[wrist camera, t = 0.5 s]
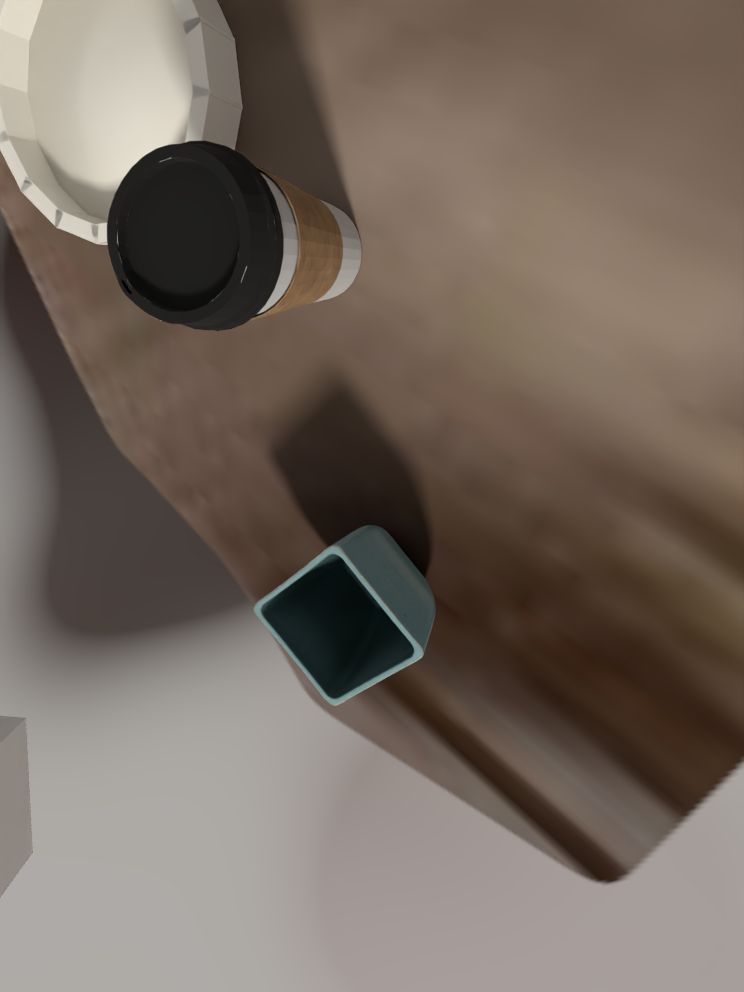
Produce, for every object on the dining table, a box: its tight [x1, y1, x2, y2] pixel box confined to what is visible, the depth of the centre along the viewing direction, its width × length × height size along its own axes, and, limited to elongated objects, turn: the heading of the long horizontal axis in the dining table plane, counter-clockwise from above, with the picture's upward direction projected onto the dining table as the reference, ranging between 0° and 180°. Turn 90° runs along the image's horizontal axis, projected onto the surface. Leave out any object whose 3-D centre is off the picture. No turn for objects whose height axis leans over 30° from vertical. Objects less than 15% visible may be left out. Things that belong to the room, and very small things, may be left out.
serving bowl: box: [0, 0, 243, 245], centre depth 40 cm, size 18×18×4 cm
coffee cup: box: [107, 141, 362, 331], centre depth 33 cm, size 8×8×15 cm
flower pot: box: [253, 525, 435, 706], centre depth 42 cm, size 9×9×9 cm
